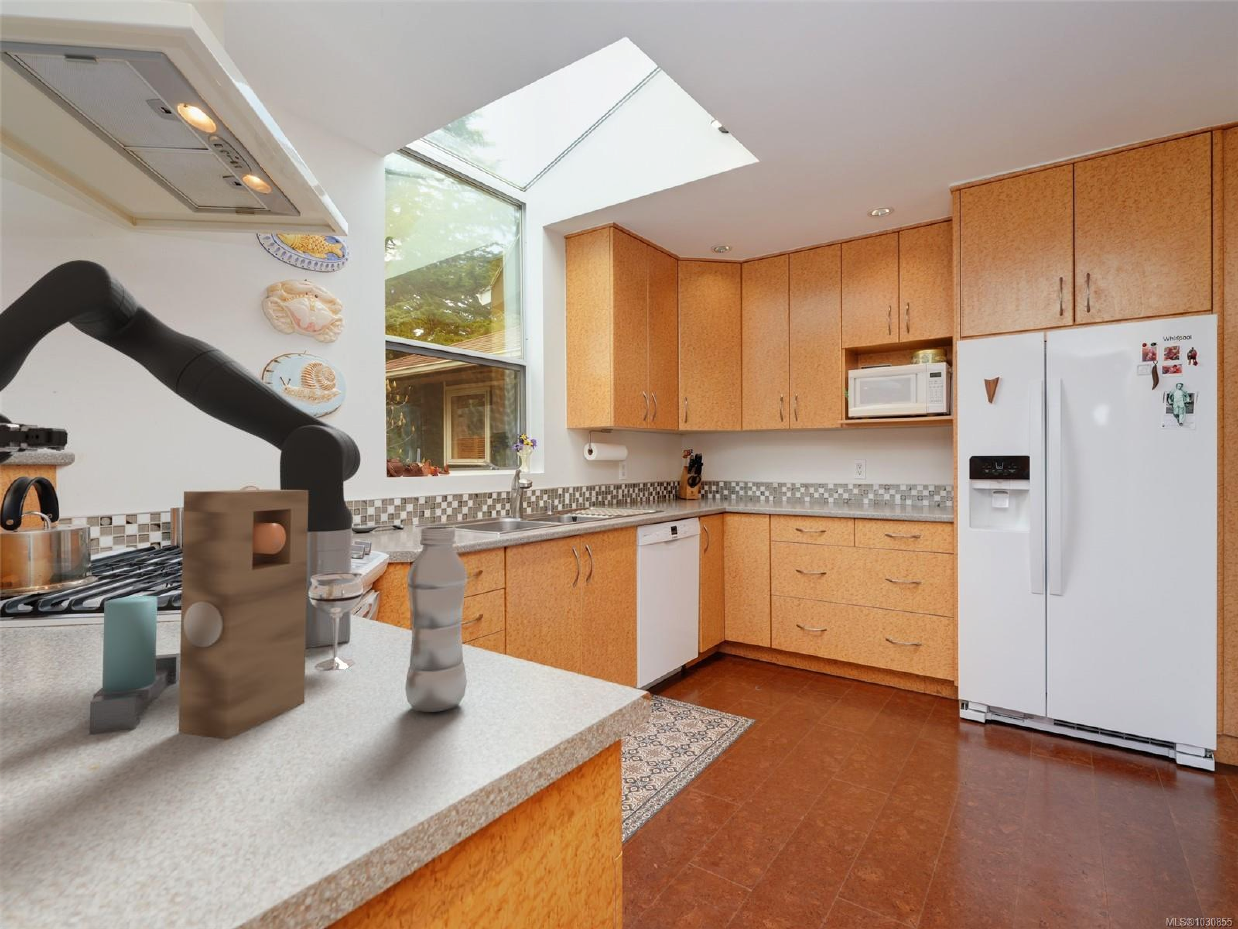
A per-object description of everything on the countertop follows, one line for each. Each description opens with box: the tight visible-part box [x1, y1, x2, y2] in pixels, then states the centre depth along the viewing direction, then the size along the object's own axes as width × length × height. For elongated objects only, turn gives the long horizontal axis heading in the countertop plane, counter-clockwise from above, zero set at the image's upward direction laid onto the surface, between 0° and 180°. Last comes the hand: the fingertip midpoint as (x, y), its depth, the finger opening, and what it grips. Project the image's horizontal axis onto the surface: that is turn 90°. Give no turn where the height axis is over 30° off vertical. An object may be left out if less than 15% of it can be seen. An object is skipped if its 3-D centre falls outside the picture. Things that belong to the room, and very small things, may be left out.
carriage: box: [92, 595, 162, 700], centre depth 65 cm, size 5×5×10 cm
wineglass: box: [309, 571, 364, 671], centre depth 82 cm, size 7×7×12 cm
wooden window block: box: [178, 489, 308, 740], centre depth 64 cm, size 6×10×24 cm, turn 166°
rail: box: [88, 653, 180, 735], centre depth 68 cm, size 4×16×3 cm, turn 23°
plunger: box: [253, 523, 286, 554], centre depth 65 cm, size 7×3×3 cm, turn 76°
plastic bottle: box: [404, 525, 468, 713], centre depth 67 cm, size 6×7×20 cm
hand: (59, 437), depth 73 cm, fingers closed
